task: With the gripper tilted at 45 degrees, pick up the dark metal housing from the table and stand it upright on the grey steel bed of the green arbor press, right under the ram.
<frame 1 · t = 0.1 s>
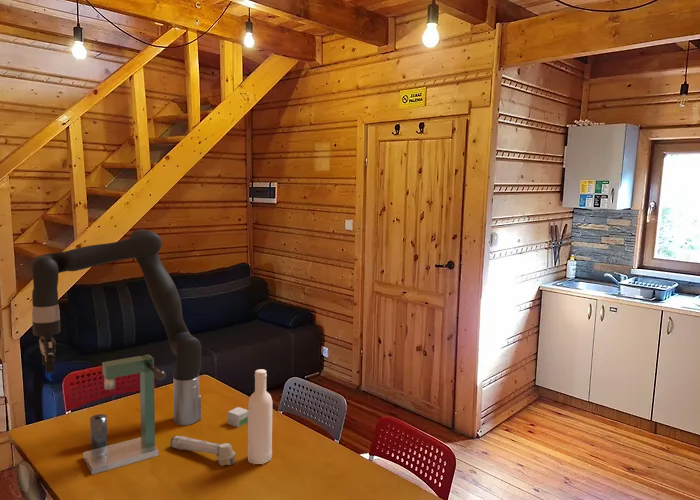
hand: (48, 368, 164), 29 cm above the table, tool pointing down, fingers open, 8 cm apart
small box: (238, 423, 194), on the table
bottle: (259, 459, 168), on the table
housing: (99, 445, 174), on the table
white handheld tool: (202, 456, 170), on the table
press: (111, 459, 165), on the table
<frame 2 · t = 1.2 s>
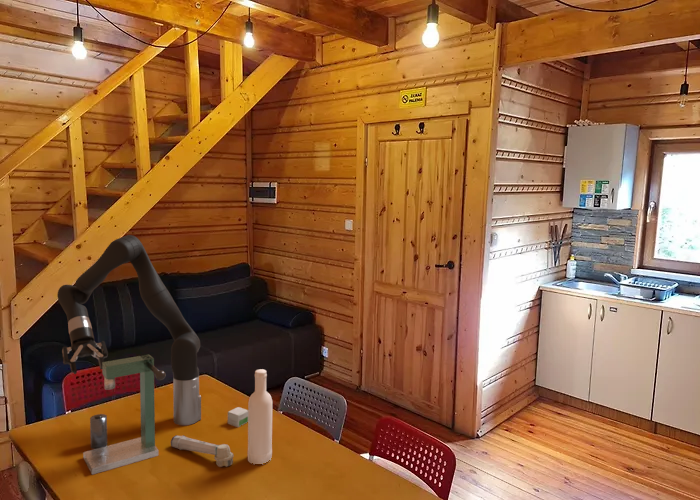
hand: (88, 370, 181), 23 cm above the table, tool tilted 45°, fingers open, 8 cm apart
nothing on the table moved.
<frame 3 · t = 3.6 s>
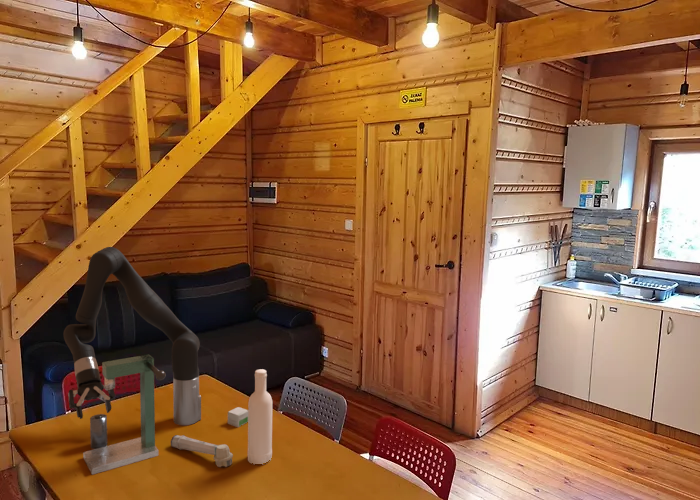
hand: (95, 414, 176), 9 cm above the table, tool tilted 45°, fingers open, 8 cm apart
nothing on the table moved.
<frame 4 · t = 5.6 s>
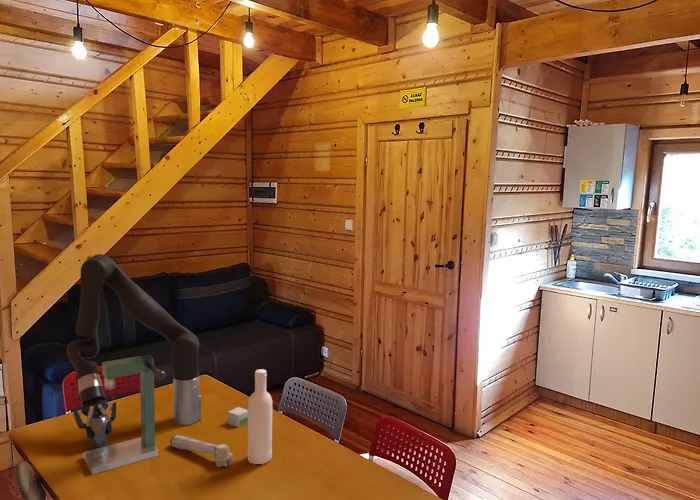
hand: (100, 435, 172), 4 cm above the table, tool tilted 45°, fingers closed on housing, 5 cm apart
housing: (99, 445, 174), on the table, touching gripper
everything else where it was.
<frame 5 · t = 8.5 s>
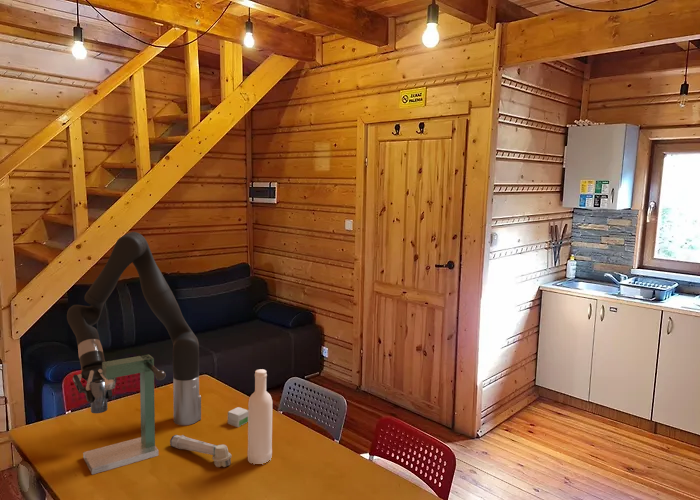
hand: (100, 400, 170), 17 cm above the table, tool tilted 45°, fingers closed on housing, 5 cm apart
housing: (99, 410, 172), point 13 cm above the table, touching gripper
everything else where it was.
when the fingers open (8 cm above the table, at t = 11.4 s): housing drops 1 cm, resting on press.
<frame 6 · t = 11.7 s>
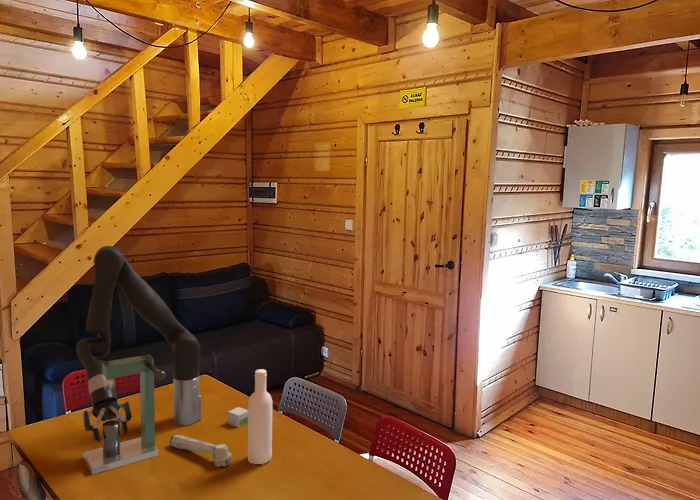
hand: (112, 437, 163), 8 cm above the table, tool tilted 45°, fingers open, 7 cm apart
housing: (111, 453, 165), point 2 cm above the table, touching press
everything else where it was.
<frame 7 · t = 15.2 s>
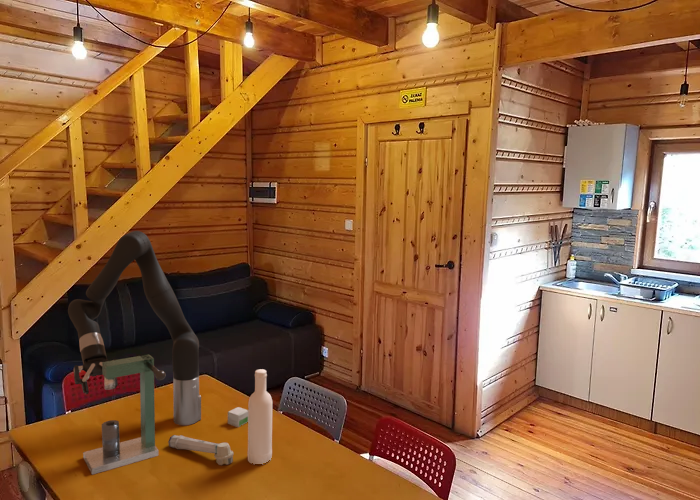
hand: (101, 390, 173), 19 cm above the table, tool tilted 45°, fingers open, 8 cm apart
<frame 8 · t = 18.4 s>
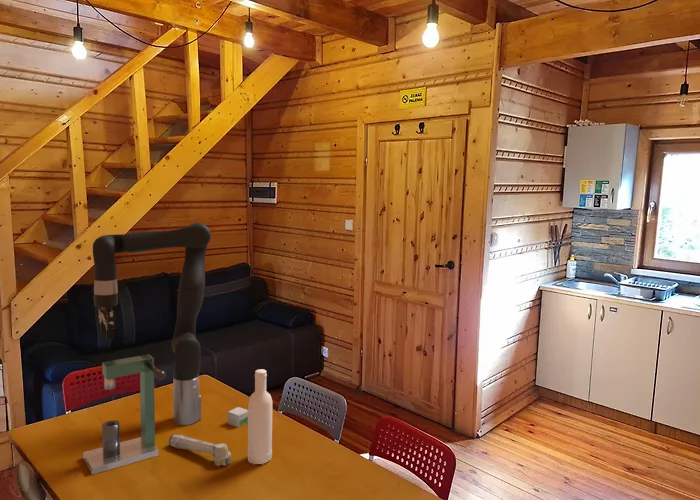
hand: (107, 336, 183), 34 cm above the table, tool pointing down, fingers open, 8 cm apart
at the end: housing 0.1 cm off-centre on the press, point 2.1 cm above the press's base; housing tilted 2°; the gripper is holding nothing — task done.
